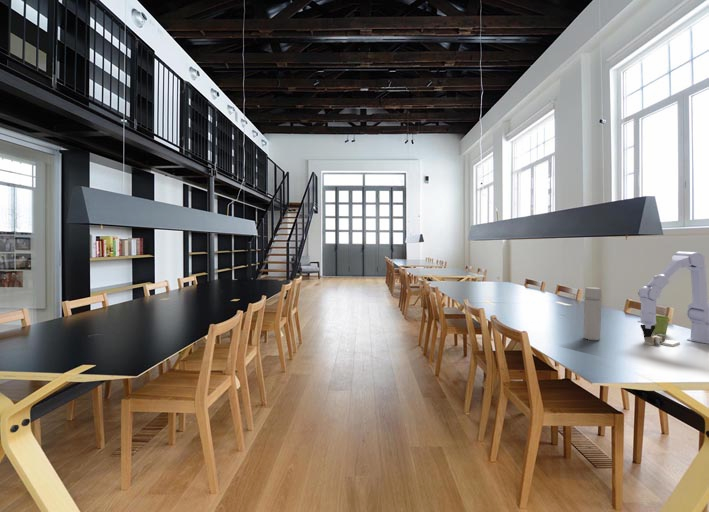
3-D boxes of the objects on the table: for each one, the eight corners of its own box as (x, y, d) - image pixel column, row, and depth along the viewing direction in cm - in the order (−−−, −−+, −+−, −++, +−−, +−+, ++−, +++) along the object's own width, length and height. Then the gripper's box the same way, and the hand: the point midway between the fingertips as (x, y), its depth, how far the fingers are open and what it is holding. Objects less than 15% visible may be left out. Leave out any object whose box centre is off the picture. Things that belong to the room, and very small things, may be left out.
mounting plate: (679, 344, 182) (679, 341, 182) (672, 346, 177) (672, 344, 177) (668, 341, 185) (668, 339, 185) (661, 344, 181) (661, 342, 181)
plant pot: (642, 332, 204) (643, 316, 203) (653, 330, 208) (654, 314, 207) (663, 336, 195) (664, 319, 195) (673, 334, 199) (674, 317, 199)
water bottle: (603, 341, 186) (605, 289, 185) (585, 340, 188) (587, 288, 186) (595, 336, 195) (597, 286, 194) (578, 335, 197) (580, 286, 195)
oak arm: (658, 341, 187) (659, 333, 186) (666, 342, 184) (666, 335, 184) (644, 343, 182) (644, 336, 182) (651, 345, 179) (651, 337, 179)
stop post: (660, 345, 180) (660, 337, 179) (658, 345, 179) (658, 338, 179) (655, 344, 181) (656, 336, 181) (654, 344, 180) (654, 337, 180)
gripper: (638, 308, 192) (637, 335, 193) (637, 314, 180) (636, 342, 181) (656, 310, 188) (655, 337, 189) (656, 315, 176) (655, 345, 177)
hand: (647, 340), depth 185 cm, fingers closed, pressing on oak arm
